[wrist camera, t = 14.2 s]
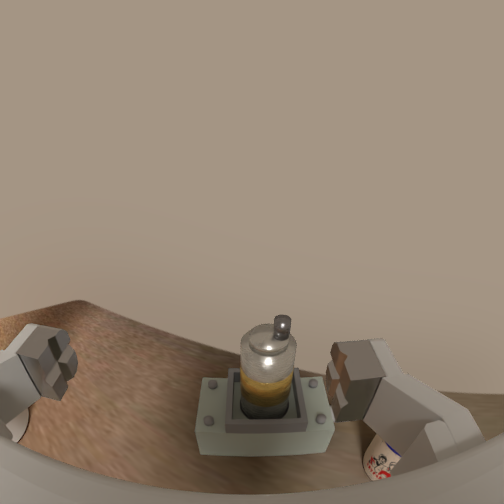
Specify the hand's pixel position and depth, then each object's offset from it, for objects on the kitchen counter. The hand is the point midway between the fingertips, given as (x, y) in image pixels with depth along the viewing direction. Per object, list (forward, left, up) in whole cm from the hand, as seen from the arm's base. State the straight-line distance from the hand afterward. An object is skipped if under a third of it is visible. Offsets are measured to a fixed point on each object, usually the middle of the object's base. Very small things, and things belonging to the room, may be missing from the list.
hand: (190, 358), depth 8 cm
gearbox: (+6, +17, -30) cm, 35 cm away
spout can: (+4, +17, -24) cm, 30 cm away
